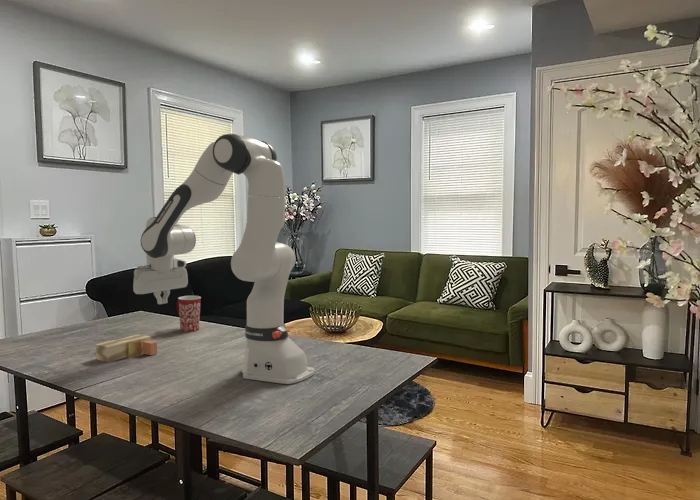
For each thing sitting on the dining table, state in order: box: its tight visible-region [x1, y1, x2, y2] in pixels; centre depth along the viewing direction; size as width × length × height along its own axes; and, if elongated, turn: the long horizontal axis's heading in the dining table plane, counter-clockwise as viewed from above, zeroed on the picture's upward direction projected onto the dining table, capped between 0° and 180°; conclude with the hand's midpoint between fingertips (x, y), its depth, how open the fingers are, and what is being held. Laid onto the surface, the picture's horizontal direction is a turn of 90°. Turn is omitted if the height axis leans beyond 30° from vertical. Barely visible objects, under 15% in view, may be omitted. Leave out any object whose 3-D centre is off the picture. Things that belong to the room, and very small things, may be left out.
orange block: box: [142, 339, 158, 356], centre depth 166 cm, size 4×2×4 cm, turn 60°
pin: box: [101, 339, 142, 359], centre depth 167 cm, size 15×5×5 cm, turn 61°
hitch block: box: [95, 334, 151, 363], centre depth 165 cm, size 6×16×5 cm, turn 150°
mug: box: [176, 295, 202, 333], centre depth 202 cm, size 13×9×14 cm
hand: (162, 303), depth 169 cm, fingers closed
